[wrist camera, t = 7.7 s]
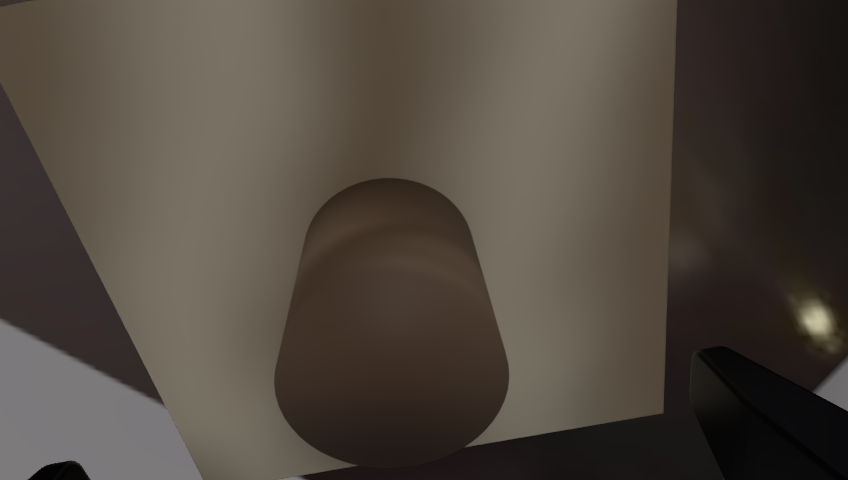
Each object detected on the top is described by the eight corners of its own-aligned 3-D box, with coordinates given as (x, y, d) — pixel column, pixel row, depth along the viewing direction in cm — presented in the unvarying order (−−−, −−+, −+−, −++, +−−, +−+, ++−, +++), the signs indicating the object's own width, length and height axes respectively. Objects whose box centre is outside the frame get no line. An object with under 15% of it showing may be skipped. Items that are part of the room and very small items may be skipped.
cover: (660, -120, 10) (851, -144, 6) (651, 391, 16) (746, 558, 12) (-8, 7, 11) (-257, 69, 7) (216, 466, 16) (160, 656, 12)
